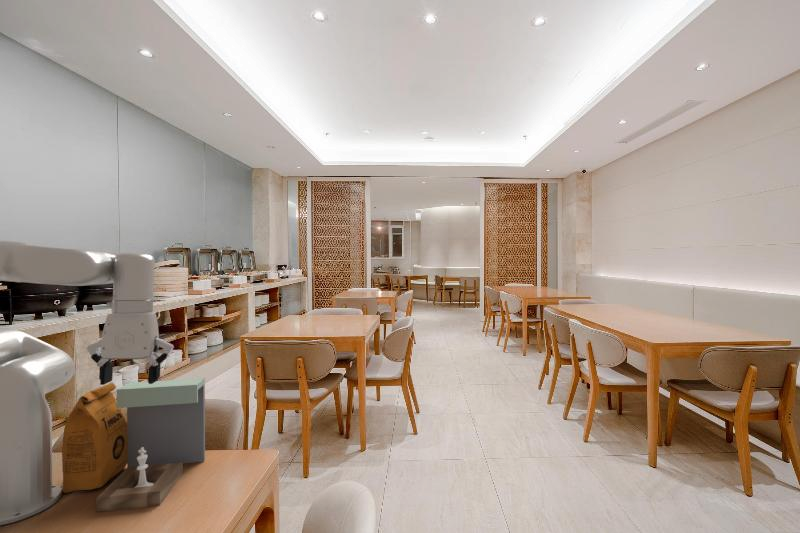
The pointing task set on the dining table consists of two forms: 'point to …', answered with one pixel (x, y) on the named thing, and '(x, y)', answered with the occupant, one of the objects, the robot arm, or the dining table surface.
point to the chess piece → (142, 469)
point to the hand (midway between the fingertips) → (130, 382)
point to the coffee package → (94, 441)
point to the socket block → (128, 497)
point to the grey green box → (165, 420)
